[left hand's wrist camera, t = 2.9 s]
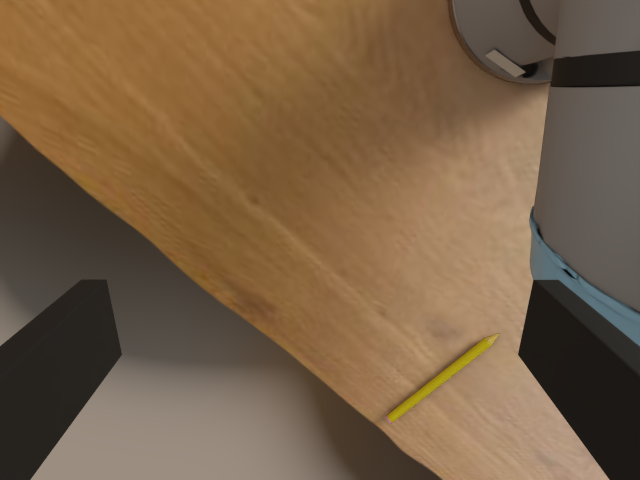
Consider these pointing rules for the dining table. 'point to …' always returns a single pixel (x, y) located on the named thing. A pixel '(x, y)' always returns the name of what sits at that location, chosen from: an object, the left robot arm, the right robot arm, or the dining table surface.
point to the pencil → (441, 378)
